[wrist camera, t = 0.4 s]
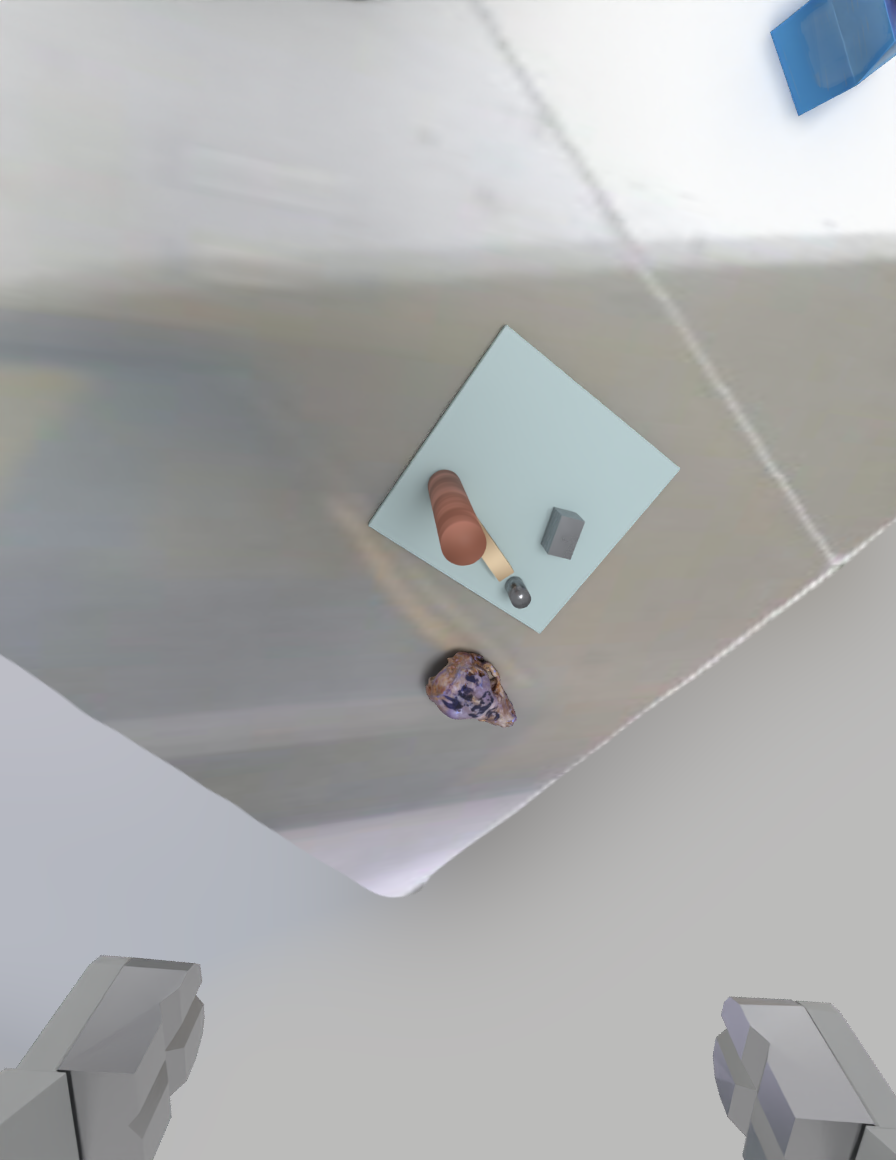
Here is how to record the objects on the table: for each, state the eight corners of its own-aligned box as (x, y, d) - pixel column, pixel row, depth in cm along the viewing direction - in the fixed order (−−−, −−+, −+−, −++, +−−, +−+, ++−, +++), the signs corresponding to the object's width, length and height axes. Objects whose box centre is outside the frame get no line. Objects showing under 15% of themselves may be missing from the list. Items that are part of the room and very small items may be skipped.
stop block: (553, 506, 56) (562, 515, 53) (576, 512, 56) (585, 521, 54) (540, 543, 57) (547, 554, 55) (562, 548, 58) (570, 559, 55)
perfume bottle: (770, 32, 43) (898, -69, 32) (845, -29, 42) (1004, -155, 31) (798, 116, 45) (926, 48, 34) (870, 60, 44) (1026, -28, 33)
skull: (527, 699, 66) (539, 733, 61) (475, 734, 68) (482, 770, 62) (466, 631, 62) (473, 661, 56) (411, 670, 63) (413, 703, 58)
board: (504, 324, 50) (506, 324, 49) (676, 466, 56) (680, 468, 55) (368, 522, 56) (368, 525, 55) (537, 629, 62) (539, 633, 62)
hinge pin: (510, 569, 59) (519, 586, 55) (525, 578, 60) (535, 596, 56) (499, 583, 60) (507, 602, 56) (513, 593, 60) (522, 612, 56)
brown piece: (516, 562, 58) (559, 640, 43) (490, 579, 58) (523, 662, 44) (449, 462, 53) (470, 513, 38) (421, 482, 53) (431, 539, 39)
